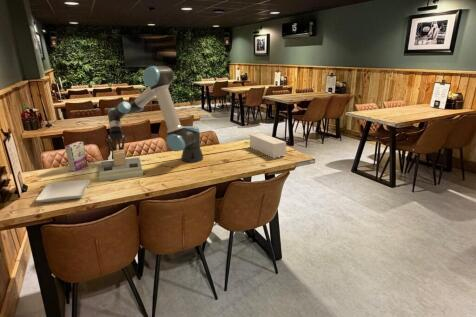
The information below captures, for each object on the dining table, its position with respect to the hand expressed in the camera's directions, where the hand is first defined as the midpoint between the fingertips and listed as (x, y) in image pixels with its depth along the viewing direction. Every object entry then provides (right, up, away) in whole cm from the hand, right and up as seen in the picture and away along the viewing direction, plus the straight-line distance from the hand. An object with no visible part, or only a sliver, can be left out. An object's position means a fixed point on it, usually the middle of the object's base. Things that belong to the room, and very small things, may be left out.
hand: (118, 158), depth 195 cm
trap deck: (+5, -7, -8) cm, 12 cm away
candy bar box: (-24, -6, -4) cm, 25 cm away
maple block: (+2, -3, -3) cm, 5 cm away
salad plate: (-11, -19, -40) cm, 46 cm away
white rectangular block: (+100, +5, +29) cm, 104 cm away
